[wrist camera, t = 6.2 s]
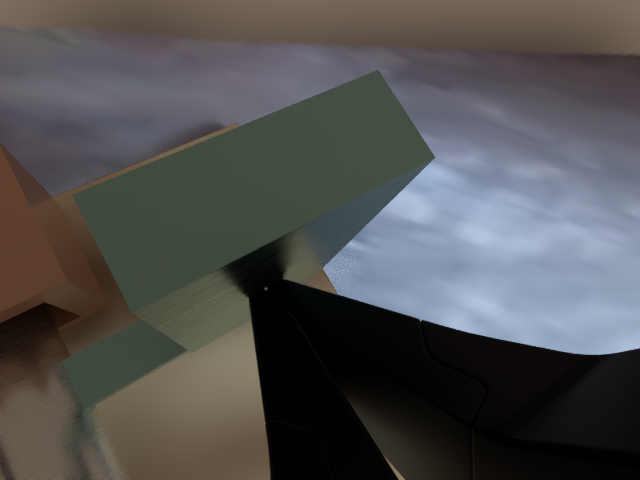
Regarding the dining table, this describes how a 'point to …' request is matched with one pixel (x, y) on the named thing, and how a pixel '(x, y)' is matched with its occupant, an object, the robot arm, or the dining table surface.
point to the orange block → (41, 253)
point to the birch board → (179, 385)
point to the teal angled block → (200, 260)
